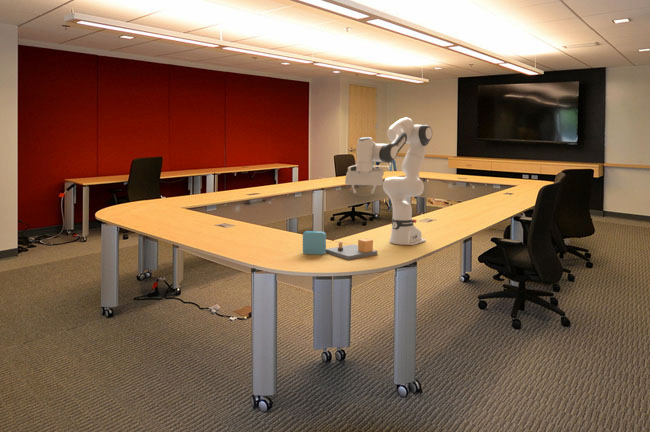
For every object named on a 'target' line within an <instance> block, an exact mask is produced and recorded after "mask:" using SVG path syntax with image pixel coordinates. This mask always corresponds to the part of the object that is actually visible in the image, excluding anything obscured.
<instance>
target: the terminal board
mask: <svg viewBox="0 0 650 432" xmlns="http://www.w3.org/2000/svg"><path fill="white" fill-rule="evenodd" d="M325 253H326V254H328V255H331V256H335V257H338V258H341V259H345V260H347V261H350V260H357V259H362V258H367V257H371V256H376V255H378V250H376V249H373V251H371V252H361V251H358V244H348V245H343V241H339V242H338V246H337V247H336V246H335V247H331V248H330V247H329V248H326V252H325ZM325 253H324V254H325Z"/></svg>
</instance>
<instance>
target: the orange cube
mask: <svg viewBox="0 0 650 432" xmlns="http://www.w3.org/2000/svg"><path fill="white" fill-rule="evenodd" d="M357 245H358V251H361V252H371V251H373V250H374V248H373V247H374V240H372V239H371V238H370V239H369V238H361V239H358V240H357Z"/></svg>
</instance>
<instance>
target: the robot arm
mask: <svg viewBox="0 0 650 432" xmlns="http://www.w3.org/2000/svg"><path fill="white" fill-rule="evenodd" d="M387 129H388V130H387V131H386V135H387V139H388V140H389V141H390V142H391V143H376V142H375V141H374V140H373V138H372V137H370V136H369V137H368V136H365V137H360V138H358V140H357V142H356V143H357V144H356V152H355V153H356V160H355V162H356V163H355V164H352V165H351V166H348V167H347V172H346V175H345V183H344V184H345V185H347V186H351V189H352V191H353V194H357V190H356V189H355V188H354V187H355V186H373V189H371V190H370V195H371V194H373V195H374V194H375V190H376V188H377V186H382V190H383V192H384V193H385V194H387V196H388V198H389V199H390V201H391V206H392V219H391V233H390V237H389V243H390V244H394V245H403V246H404V245H407V246H409V245H410V246H414V245H418V244H421V243H425V242H426V239H425V238H423V235H422V231H421V230H420V229H419V228H418V227H416V226H415V225H414V223H415V224H416V223H417V221H418V220H417V219H414V218H413V219H412V216H413V215H412V213H413V210H412V209H413V206H412V205H411V203H409V201H407V200H406V198H405V197H410V198H413V197H419V196H421V195H422V194H423V192H424V190H425V184H424V182H423V181H422V179H421V178H420V171H421V168H422V165H423V163H424V160H425V156H426V153H427V152H426V150H427V148H426V146H428V145H429V142H431V140H432V138H433V129H432V128H431V126H430V125H427V124H415V123H414V121H413V120H412V119H411V118H409V117H403V118H399V120H397V121H395V122H394V123H392V124H391V125H390V126H389V128H387ZM407 144H409V148H408V149H407V152H406V153H405V156H404V158H403V160H402V164H401V165H400V166H401V167H400V168H401V171H402V172H403V174H405V176H389V177H386V178H385V179H383V176H384V174H385V173H384V172H385V171H384V169H382V168H381V167H373V163H374V162H380V163H388V164H389V163H393V162H394V161H395V160H396V158H397V156H398V154H399V153H400V152H401V150H402V148H403V147H404V146H405V145H407Z"/></svg>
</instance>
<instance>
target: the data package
mask: <svg viewBox="0 0 650 432" xmlns="http://www.w3.org/2000/svg"><path fill="white" fill-rule="evenodd" d="M326 249H327V234H326V232H325V231H323V230H322V231H319V230H318V231H316V230H315V231H314V230H312V231H311V230H306V231H304V232H303V233H302V253H303V254H305V255H314V256H315V255H318V256H319V255H320V256H322V255H324V254H325V252H326Z"/></svg>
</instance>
